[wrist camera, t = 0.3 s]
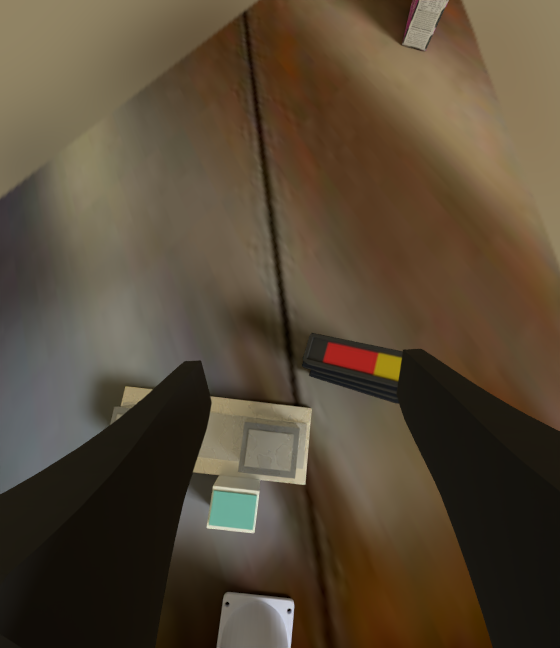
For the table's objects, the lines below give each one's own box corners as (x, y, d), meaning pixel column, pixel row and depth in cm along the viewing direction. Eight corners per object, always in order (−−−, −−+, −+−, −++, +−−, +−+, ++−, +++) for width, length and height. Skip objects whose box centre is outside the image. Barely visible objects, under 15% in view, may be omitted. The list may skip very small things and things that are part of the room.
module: (256, 513, 35) (254, 534, 30) (214, 509, 35) (206, 529, 30) (260, 477, 36) (259, 492, 31) (220, 473, 36) (212, 486, 31)
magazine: (415, 410, 37) (422, 396, 24) (318, 383, 43) (282, 359, 30) (420, 381, 38) (430, 353, 25) (325, 358, 44) (293, 326, 31)
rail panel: (304, 482, 36) (312, 502, 29) (110, 460, 35) (75, 476, 29) (310, 408, 38) (320, 411, 31) (128, 386, 38) (99, 385, 31)
